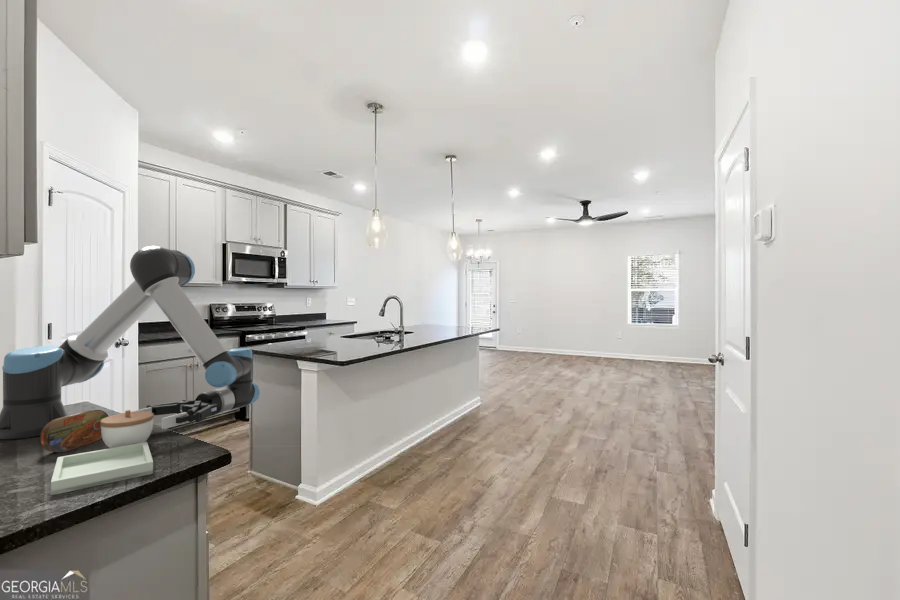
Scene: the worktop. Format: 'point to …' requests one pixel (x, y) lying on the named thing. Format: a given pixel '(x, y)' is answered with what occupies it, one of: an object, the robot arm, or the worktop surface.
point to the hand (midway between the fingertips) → (143, 420)
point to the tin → (72, 431)
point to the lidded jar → (126, 428)
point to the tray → (101, 467)
